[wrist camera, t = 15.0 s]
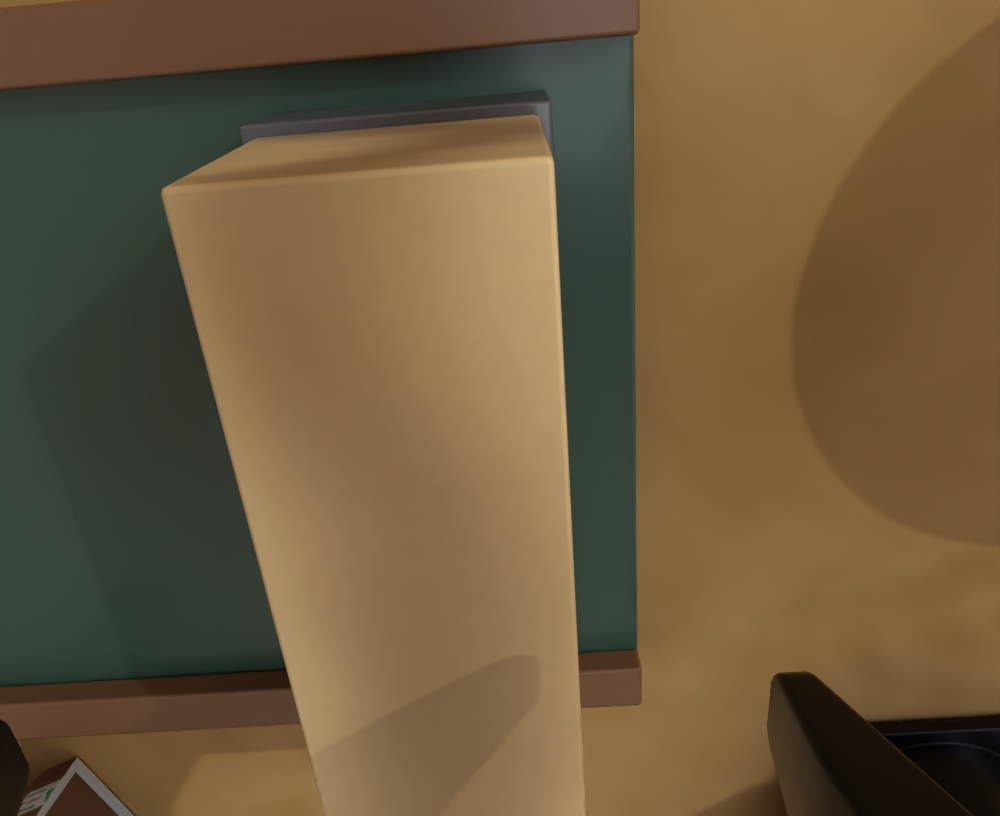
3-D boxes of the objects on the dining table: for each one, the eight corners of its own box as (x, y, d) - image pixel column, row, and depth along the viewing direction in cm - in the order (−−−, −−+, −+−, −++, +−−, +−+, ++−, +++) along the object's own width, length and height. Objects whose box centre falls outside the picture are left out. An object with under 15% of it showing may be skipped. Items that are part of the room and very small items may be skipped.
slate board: (625, -45, 14) (640, -51, 12) (631, 655, 21) (642, 706, 19) (-580, 65, 15) (-705, 72, 13) (-181, 702, 22) (-233, 755, 20)
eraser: (547, 90, 14) (571, 135, 9) (574, 625, 19) (598, 837, 14) (262, 114, 14) (134, 171, 9) (367, 637, 19) (321, 851, 15)
